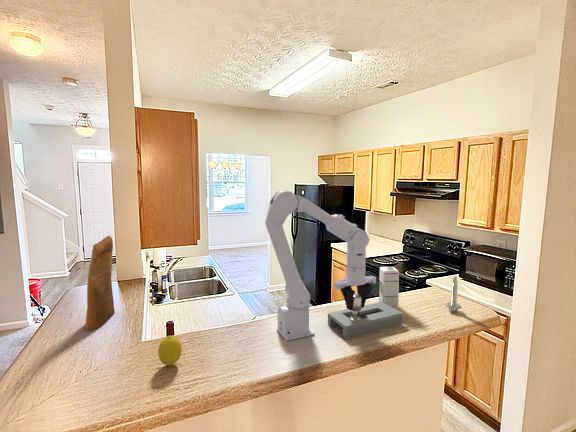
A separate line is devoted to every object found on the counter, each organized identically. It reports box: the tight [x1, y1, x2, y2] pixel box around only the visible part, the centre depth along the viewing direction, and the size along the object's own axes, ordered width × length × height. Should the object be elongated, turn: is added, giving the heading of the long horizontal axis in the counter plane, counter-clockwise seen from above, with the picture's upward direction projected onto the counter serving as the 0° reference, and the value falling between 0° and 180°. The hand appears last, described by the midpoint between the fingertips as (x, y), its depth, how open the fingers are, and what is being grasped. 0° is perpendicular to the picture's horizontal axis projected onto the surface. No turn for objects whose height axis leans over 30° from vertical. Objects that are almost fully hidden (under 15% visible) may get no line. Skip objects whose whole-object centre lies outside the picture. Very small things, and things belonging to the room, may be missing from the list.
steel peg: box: [348, 292, 362, 321], centre depth 97 cm, size 4×4×9 cm
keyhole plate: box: [327, 301, 404, 340], centre depth 99 cm, size 22×10×4 cm, turn 114°
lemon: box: [157, 335, 183, 366], centre depth 77 cm, size 6×6×8 cm
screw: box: [445, 276, 462, 314], centre depth 108 cm, size 13×5×5 cm
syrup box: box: [378, 266, 400, 311], centre depth 112 cm, size 6×6×14 cm
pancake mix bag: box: [85, 235, 115, 332], centre depth 102 cm, size 7×19×28 cm, turn 8°
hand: (355, 307), depth 97 cm, fingers closed on steel peg, 4 cm apart
